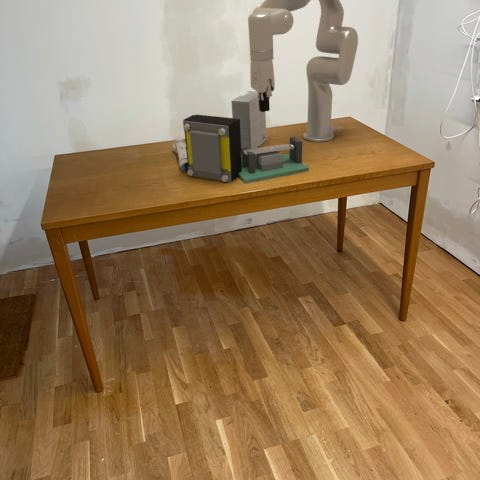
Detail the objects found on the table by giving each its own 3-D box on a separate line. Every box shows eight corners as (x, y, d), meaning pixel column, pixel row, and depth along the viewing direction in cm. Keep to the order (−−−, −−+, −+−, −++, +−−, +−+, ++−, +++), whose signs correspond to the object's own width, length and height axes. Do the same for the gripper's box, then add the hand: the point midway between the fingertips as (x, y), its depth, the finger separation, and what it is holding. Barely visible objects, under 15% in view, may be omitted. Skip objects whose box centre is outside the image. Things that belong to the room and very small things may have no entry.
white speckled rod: (178, 163, 165) (171, 133, 184) (180, 179, 169) (172, 148, 188) (193, 161, 166) (184, 131, 185) (194, 177, 170) (185, 146, 189)
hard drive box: (250, 138, 196) (248, 90, 186) (266, 140, 193) (266, 91, 183) (233, 151, 184) (230, 100, 174) (251, 153, 181) (249, 101, 171)
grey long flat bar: (289, 146, 168) (289, 142, 167) (295, 149, 164) (295, 145, 164) (242, 152, 162) (242, 148, 161) (247, 156, 158) (247, 152, 158)
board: (288, 156, 176) (288, 132, 172) (308, 170, 163) (309, 145, 159) (228, 167, 169) (227, 143, 165) (245, 183, 156) (244, 157, 152)
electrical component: (185, 177, 164) (179, 121, 154) (200, 167, 172) (196, 113, 162) (229, 185, 157) (225, 127, 146) (243, 174, 164) (240, 118, 154)
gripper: (242, 52, 155) (246, 107, 165) (260, 60, 143) (263, 118, 153) (262, 49, 157) (265, 103, 167) (282, 56, 146) (284, 114, 156)
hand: (264, 110), depth 160 cm, fingers closed
